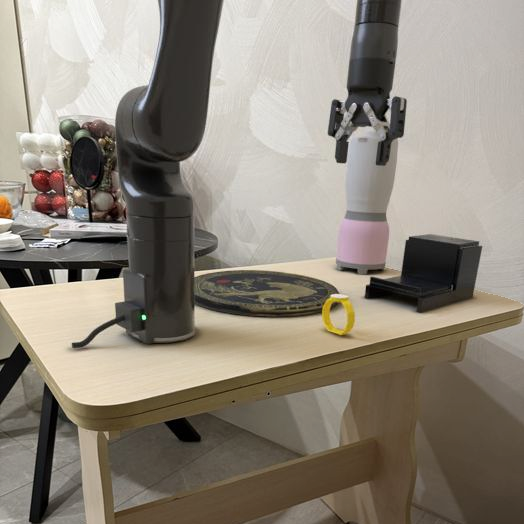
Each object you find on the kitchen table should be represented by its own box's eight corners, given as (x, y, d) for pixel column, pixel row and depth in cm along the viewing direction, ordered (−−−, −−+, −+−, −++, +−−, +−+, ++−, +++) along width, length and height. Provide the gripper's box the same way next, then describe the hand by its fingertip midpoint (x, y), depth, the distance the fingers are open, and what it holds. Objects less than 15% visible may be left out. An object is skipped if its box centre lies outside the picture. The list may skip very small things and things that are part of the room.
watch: (356, 337, 80) (360, 299, 78) (343, 339, 78) (347, 301, 76) (330, 326, 84) (333, 290, 82) (317, 328, 83) (320, 292, 81)
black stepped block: (420, 312, 95) (429, 249, 91) (364, 297, 103) (371, 239, 99) (472, 297, 107) (483, 241, 103) (419, 285, 116) (427, 233, 112)
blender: (370, 277, 122) (387, 129, 111) (325, 268, 129) (338, 128, 118) (398, 268, 134) (416, 134, 123) (356, 261, 141) (370, 133, 130)
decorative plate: (155, 278, 102) (270, 264, 121) (155, 288, 103) (270, 272, 121) (249, 318, 81) (372, 293, 99) (249, 329, 82) (371, 302, 100)
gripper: (324, 59, 88) (315, 161, 93) (396, 50, 78) (382, 165, 83) (351, 67, 92) (341, 163, 98) (423, 59, 83) (407, 167, 88)
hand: (360, 164), depth 91 cm, fingers open, 8 cm apart
